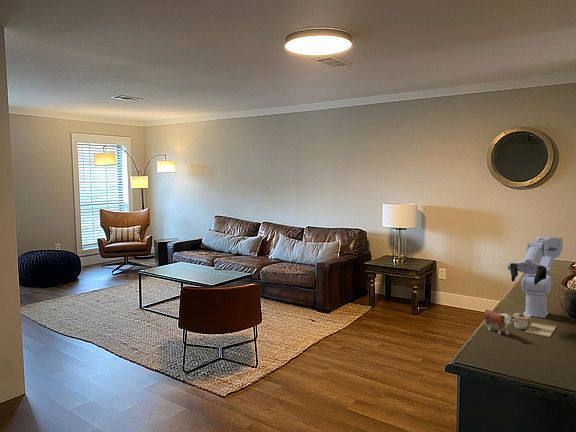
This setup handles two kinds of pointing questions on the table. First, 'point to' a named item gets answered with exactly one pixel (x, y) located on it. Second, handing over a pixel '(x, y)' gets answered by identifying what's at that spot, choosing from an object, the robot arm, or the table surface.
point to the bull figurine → (497, 320)
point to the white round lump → (520, 325)
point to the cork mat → (540, 329)
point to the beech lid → (521, 317)
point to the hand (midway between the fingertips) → (523, 280)
